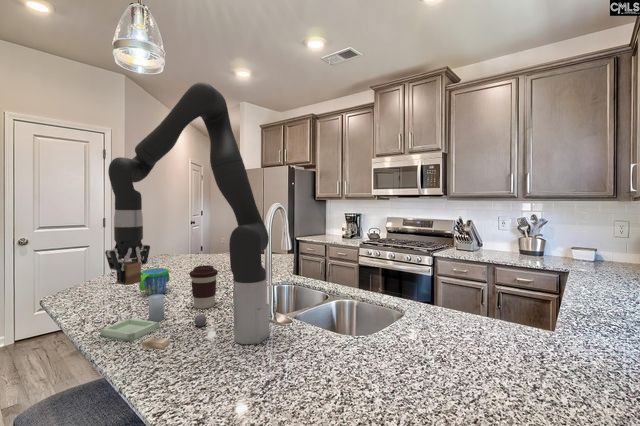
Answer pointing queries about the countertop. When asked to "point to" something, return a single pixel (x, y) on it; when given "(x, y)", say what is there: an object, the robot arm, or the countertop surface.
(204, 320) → the rubber ball
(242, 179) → the robot arm
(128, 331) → the sage tray
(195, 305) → the coffee cup
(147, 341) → the beech domino
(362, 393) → the countertop surface
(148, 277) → the snack cup
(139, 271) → the walnut block
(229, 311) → the countertop surface
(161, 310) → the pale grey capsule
